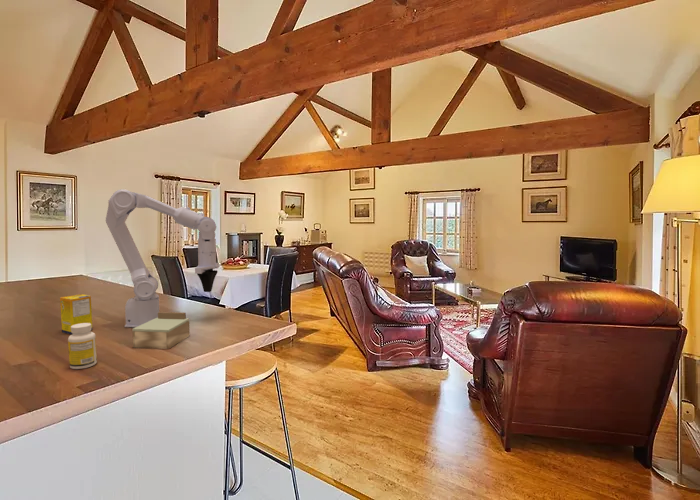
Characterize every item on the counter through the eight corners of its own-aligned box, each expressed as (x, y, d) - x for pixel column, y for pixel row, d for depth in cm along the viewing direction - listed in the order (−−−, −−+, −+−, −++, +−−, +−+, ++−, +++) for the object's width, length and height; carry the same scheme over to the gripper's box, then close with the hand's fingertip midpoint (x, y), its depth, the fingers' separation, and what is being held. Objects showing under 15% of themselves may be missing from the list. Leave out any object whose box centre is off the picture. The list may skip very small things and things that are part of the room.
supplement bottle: (78, 361, 95) (76, 322, 94) (101, 360, 95) (99, 321, 95) (63, 369, 90) (61, 328, 89) (88, 369, 90) (86, 328, 89)
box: (132, 347, 105) (132, 331, 105) (157, 334, 117) (156, 319, 117) (168, 348, 105) (168, 332, 104) (189, 335, 117) (189, 320, 116)
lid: (132, 331, 105) (132, 322, 105) (156, 319, 117) (156, 311, 117) (168, 332, 104) (168, 323, 104) (189, 320, 116) (189, 312, 116)
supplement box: (81, 327, 124) (80, 293, 123) (93, 330, 121) (91, 295, 120) (61, 332, 118) (59, 296, 117) (72, 335, 116) (70, 299, 115)
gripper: (209, 254, 125) (210, 296, 126) (226, 250, 140) (226, 288, 141) (188, 254, 126) (189, 295, 127) (207, 250, 140) (207, 287, 141)
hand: (207, 291), depth 134 cm, fingers closed
